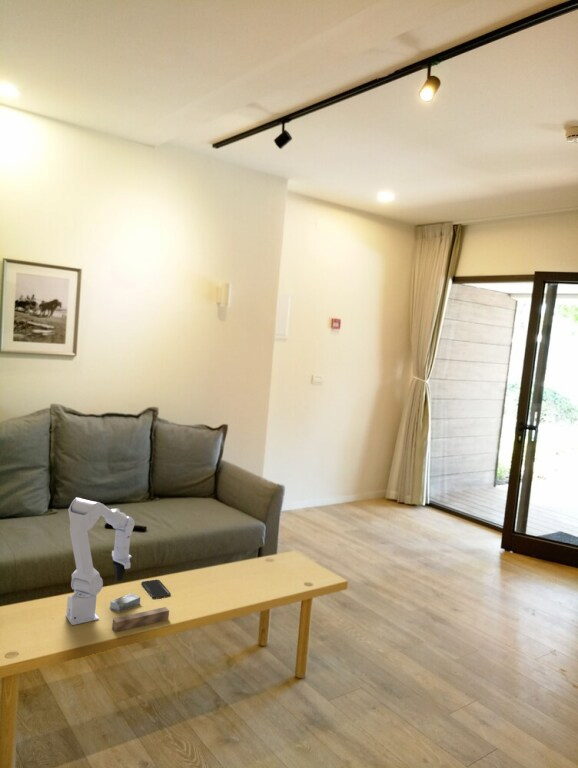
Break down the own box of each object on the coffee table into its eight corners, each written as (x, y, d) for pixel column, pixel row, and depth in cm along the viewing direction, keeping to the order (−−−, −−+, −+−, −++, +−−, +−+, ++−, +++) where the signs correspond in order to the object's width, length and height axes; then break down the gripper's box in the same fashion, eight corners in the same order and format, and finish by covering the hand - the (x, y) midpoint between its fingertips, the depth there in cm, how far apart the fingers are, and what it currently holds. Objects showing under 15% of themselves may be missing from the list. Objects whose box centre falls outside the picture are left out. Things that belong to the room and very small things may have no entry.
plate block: (118, 613, 206) (119, 605, 205) (110, 609, 208) (110, 601, 208) (139, 604, 214) (140, 597, 214) (131, 600, 217) (131, 593, 216)
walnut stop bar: (115, 632, 192) (116, 622, 192) (112, 628, 194) (112, 618, 194) (168, 619, 204) (169, 610, 204) (164, 615, 207) (165, 606, 206)
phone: (158, 579, 236) (171, 594, 223) (158, 581, 236) (171, 596, 223) (140, 581, 231) (152, 597, 219) (140, 584, 231) (152, 600, 219)
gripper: (139, 551, 213) (136, 585, 214) (124, 538, 224) (122, 571, 225) (121, 553, 208) (118, 588, 209) (107, 540, 220) (104, 573, 221)
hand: (119, 579), depth 217 cm, fingers closed
